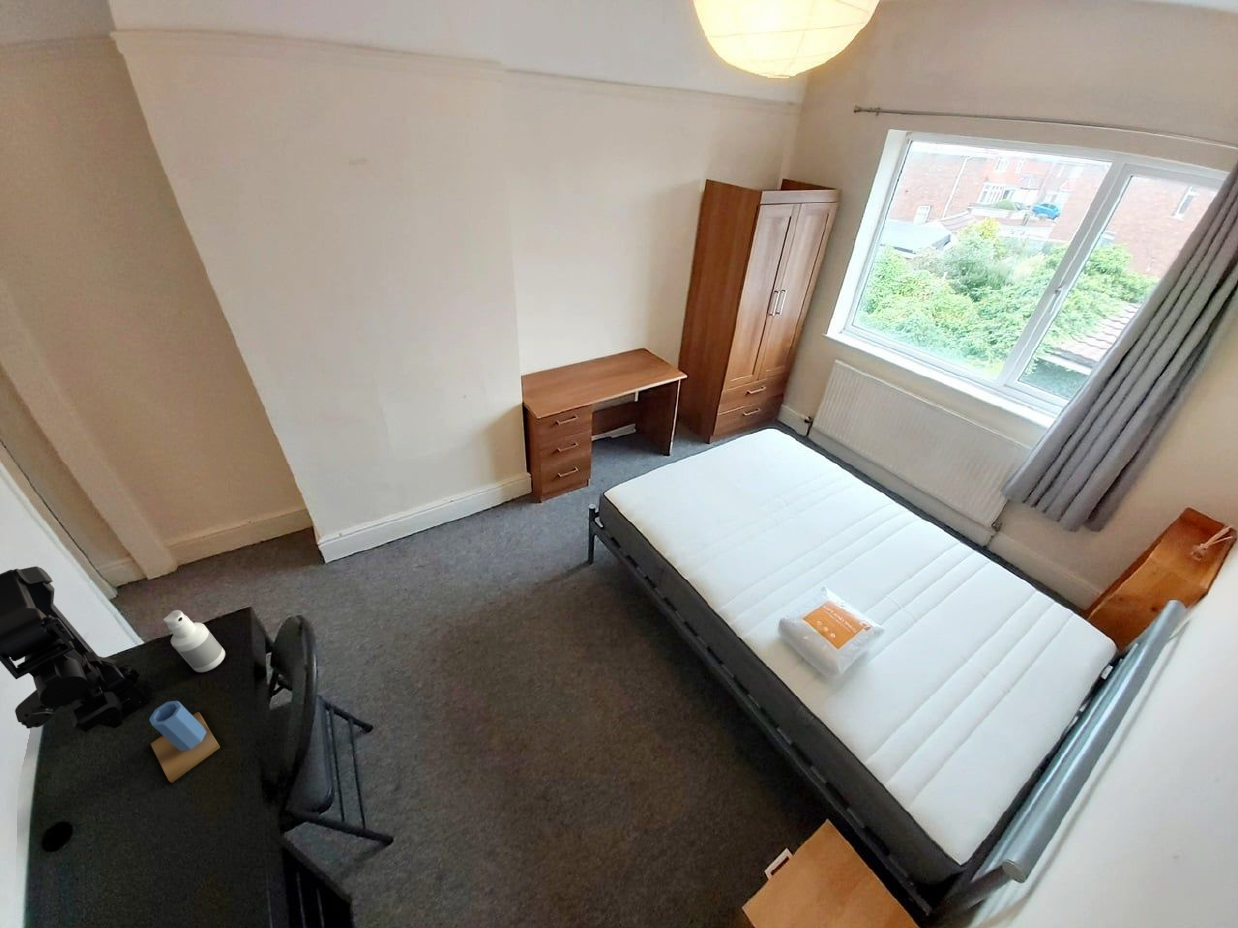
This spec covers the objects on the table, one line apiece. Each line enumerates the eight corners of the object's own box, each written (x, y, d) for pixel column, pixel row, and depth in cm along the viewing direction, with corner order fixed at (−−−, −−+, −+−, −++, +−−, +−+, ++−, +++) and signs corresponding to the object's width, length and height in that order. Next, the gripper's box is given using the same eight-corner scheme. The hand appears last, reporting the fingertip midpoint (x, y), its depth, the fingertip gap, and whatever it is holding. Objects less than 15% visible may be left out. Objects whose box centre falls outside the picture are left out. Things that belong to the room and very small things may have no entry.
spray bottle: (209, 675, 122) (171, 630, 112) (186, 670, 124) (146, 625, 113) (232, 651, 128) (197, 606, 117) (210, 646, 129) (173, 601, 119)
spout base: (153, 746, 109) (142, 736, 106) (200, 714, 115) (191, 704, 112) (171, 783, 103) (160, 774, 100) (220, 747, 109) (211, 737, 106)
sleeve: (174, 740, 109) (146, 714, 102) (200, 722, 112) (175, 696, 105) (182, 755, 106) (154, 729, 100) (209, 736, 109) (183, 710, 103)
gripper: (-7, 671, 92) (50, 714, 101) (11, 734, 83) (71, 775, 92) (72, 631, 100) (118, 675, 109) (97, 684, 90) (144, 727, 99)
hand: (112, 711), depth 102 cm, fingers open, 9 cm apart
